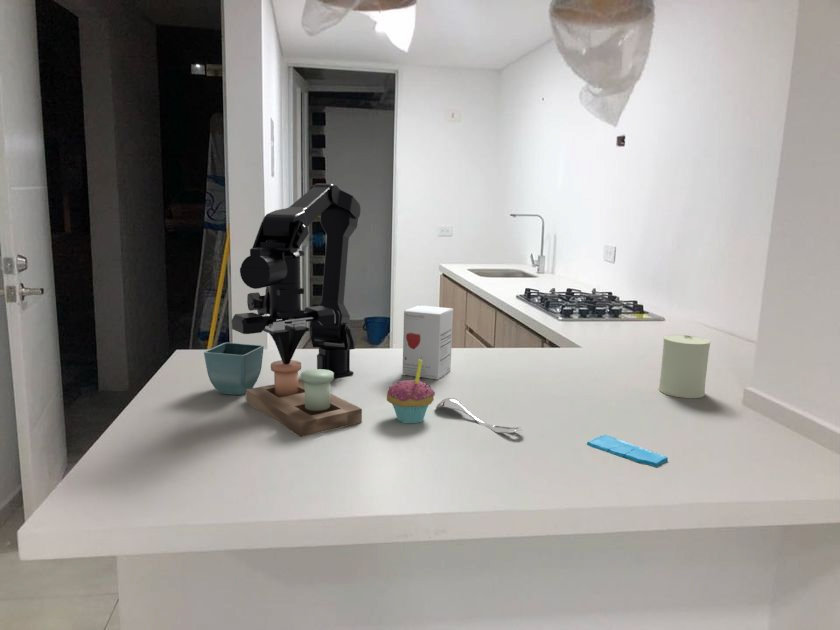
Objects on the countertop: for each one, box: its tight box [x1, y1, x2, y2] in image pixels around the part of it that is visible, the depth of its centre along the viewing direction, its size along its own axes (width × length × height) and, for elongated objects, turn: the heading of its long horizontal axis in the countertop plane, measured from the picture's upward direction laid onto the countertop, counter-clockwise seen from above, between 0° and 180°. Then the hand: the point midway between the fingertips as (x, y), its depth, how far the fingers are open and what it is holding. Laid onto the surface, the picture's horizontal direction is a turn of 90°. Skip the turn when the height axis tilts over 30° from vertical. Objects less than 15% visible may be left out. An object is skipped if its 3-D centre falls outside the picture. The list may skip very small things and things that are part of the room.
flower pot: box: [203, 342, 265, 396], centre depth 123 cm, size 9×9×9 cm
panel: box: [245, 379, 363, 438], centre depth 112 cm, size 12×22×2 cm, turn 39°
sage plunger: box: [300, 368, 335, 411], centre depth 107 cm, size 6×6×6 cm
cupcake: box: [386, 356, 436, 424], centre depth 109 cm, size 9×8×12 cm
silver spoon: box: [435, 397, 525, 434], centre depth 109 cm, size 20×4×5 cm
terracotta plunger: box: [270, 359, 302, 397], centre depth 116 cm, size 6×6×6 cm
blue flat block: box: [586, 434, 668, 467], centre depth 98 cm, size 2×12×6 cm
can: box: [657, 334, 711, 399], centre depth 130 cm, size 9×9×12 cm
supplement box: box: [402, 304, 454, 380], centre depth 139 cm, size 9×9×15 cm
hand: (286, 363), depth 116 cm, fingers closed, pressing on terracotta plunger
